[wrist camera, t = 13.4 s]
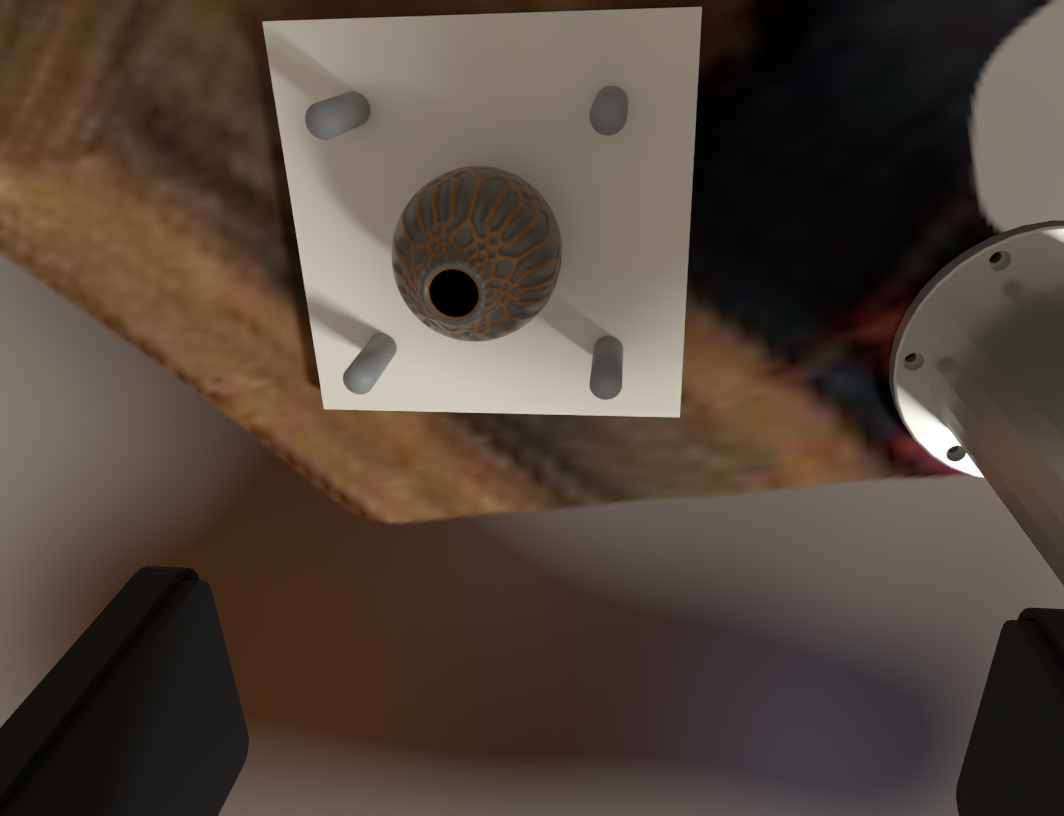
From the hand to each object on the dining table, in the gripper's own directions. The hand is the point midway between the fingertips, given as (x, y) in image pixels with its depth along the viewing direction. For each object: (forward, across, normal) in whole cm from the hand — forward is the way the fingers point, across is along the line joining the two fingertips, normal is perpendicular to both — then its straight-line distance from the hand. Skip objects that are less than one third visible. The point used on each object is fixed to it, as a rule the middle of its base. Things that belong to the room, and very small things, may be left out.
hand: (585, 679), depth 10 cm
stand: (+30, +6, +2) cm, 31 cm away
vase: (+29, +6, +2) cm, 30 cm away
